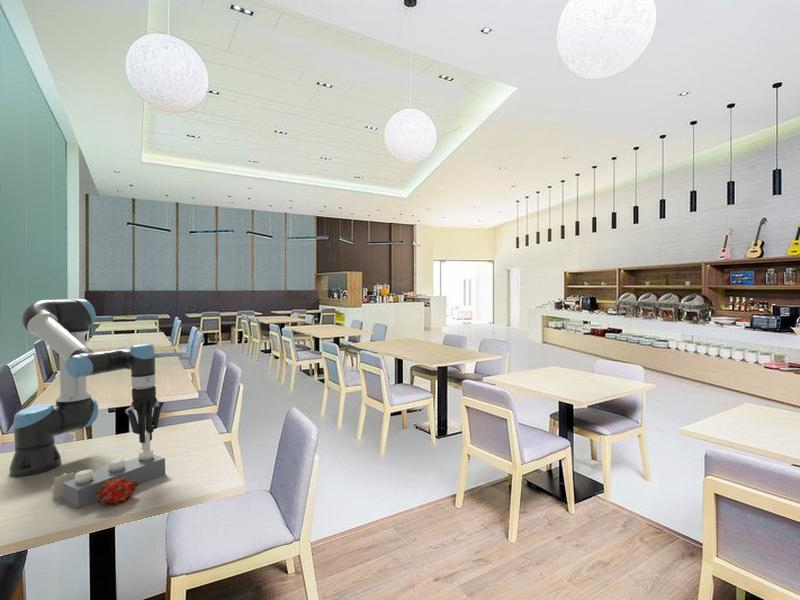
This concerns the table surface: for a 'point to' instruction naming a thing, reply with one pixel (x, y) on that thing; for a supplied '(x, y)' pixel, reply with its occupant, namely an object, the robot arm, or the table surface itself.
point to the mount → (132, 471)
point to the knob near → (83, 476)
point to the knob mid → (116, 465)
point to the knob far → (145, 455)
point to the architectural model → (60, 484)
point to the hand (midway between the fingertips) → (146, 450)
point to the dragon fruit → (116, 490)
